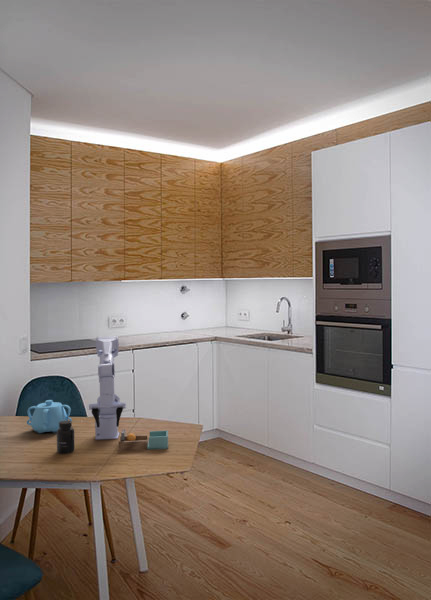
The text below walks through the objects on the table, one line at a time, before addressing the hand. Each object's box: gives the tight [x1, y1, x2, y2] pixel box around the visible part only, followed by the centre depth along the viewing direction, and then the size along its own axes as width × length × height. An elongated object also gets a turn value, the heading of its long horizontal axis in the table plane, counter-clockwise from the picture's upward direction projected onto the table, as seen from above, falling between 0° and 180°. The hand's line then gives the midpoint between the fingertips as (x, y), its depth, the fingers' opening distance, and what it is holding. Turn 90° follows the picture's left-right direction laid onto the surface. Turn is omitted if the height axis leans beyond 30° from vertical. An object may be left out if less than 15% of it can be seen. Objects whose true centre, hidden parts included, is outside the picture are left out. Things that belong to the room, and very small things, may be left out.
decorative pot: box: [26, 399, 73, 434], centre depth 236 cm, size 16×16×14 cm
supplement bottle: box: [56, 419, 75, 455], centre depth 206 cm, size 7×7×12 cm
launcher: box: [117, 434, 149, 452], centre depth 211 cm, size 11×8×4 cm
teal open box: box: [147, 430, 169, 451], centre depth 211 cm, size 8×8×5 cm
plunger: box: [120, 429, 127, 441], centre depth 210 cm, size 1×5×4 cm, turn 4°
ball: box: [126, 433, 136, 441], centre depth 211 cm, size 4×4×4 cm
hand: (108, 426), depth 210 cm, fingers open, 7 cm apart
